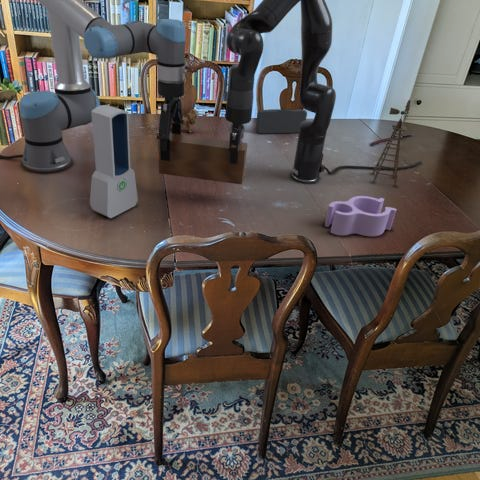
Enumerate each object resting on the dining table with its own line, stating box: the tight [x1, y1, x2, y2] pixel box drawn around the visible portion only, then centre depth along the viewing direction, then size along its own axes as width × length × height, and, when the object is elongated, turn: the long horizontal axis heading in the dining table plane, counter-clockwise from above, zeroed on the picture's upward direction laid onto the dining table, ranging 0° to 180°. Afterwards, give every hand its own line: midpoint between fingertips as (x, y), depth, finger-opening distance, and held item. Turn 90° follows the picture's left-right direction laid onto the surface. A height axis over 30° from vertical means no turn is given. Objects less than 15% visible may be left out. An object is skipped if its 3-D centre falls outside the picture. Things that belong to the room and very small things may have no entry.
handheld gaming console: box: [255, 108, 308, 134], centre depth 205 cm, size 23×3×10 cm, turn 108°
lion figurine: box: [171, 108, 200, 133], centre depth 195 cm, size 15×5×9 cm, turn 110°
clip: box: [324, 195, 398, 237], centre depth 141 cm, size 20×12×7 cm, turn 109°
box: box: [157, 132, 248, 185], centre depth 142 cm, size 26×6×11 cm, turn 83°
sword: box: [370, 134, 411, 146], centre depth 212 cm, size 31×3×1 cm, turn 126°
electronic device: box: [89, 104, 139, 219], centre depth 131 cm, size 12×8×30 cm, turn 148°
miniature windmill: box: [371, 99, 411, 187], centre depth 166 cm, size 9×8×30 cm
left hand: (171, 151), depth 142 cm, fingers open, 13 cm apart
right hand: (234, 158), depth 141 cm, fingers closed on box, 6 cm apart
